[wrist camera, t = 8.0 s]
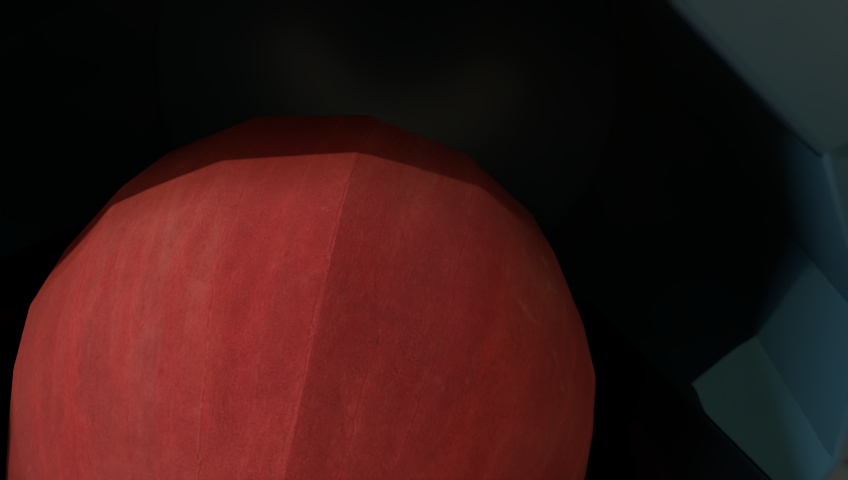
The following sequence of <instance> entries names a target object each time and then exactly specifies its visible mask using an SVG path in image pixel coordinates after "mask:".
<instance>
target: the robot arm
mask: <svg viewBox="0 0 848 480" xmlns="http://www.w3.org/2000/svg"><path fill="white" fill-rule="evenodd" d="M86 226H87V224H83V225H79V226H76V227H73V228H71V229H69V230H66V231H64V232H61V233H59V234H57V235H54V236H52V237H49V238H47V239H45V240H42V241H40V242H37V243H35V244H33V245H30V246H28V247H25V248H23V249H20V250H18V251H16V252H13V253H11V254H8V255H6V256H4V257H1V258H0V480H6V459H7V438H8V426H9V415H10V403H11V392H12V381H13V370H14V365H15V362H16V358H17V354H18V350H19V346H20V342H21V338H22V334H23V330H24V327H25V323H26V319H27V315H28V311H29V307H30V305H31V303H32V301H33V300H34V298H35V297H36V295H37V294H38V292H39V290H40V289H41V287H42V286H43V284H44V283H45V281H46V279H47V278H48V276H49V275H50V273H51V271H52V270H53V268H54V267H55V265H56V264H57V262H58V260H59V259H60V257H61V256H62V254H63V252H64V251H65V249H66V248H67V247H68V246H69V245H70V244H71V242H72V241H73V240H74V239H75V238H76V237H77V236H78V235H79V234H80V232H81V231H82V230H83V229H84V228H85V227H86ZM573 300H574V302H575V305H576V307H577V310H578V312H579V315H580V317H581V320H582V322H583V324H584V328H585V333H586V337H587V342H588V346H589V350H590V355H591V359H592V364H593V368H594V372H595V377H596V382H595V400H594V417H593V434H592V440H591V445H590V451H589V457H588V463H587V469H586V475H585V480H769V479H768V478H767V477H766V476H765V475H764V474H763V473H762V472H761V471H760V470H759V469H758V468H757V467H756V466H754V465H753V464H752V463H751V462H750V461H749V460H748V459H747V458H746V457H745V456H744V455H743V454H742V453H741V452H740V451H739V450H738V449H737V448H736V447H735V446H734V445H733V444H732V443H731V442H730V441H729V440H728V439H727V438H726V437H725V436H724V435H723V434H722V433H721V432H720V431H719V430H718V429H717V428H716V427H715V426H714V425H713V424H712V423H711V422H710V421H709V420H708V419H707V418H706V417H705V416H704V415H703V414H702V413H701V412H700V411H699V410H698V409H697V408H696V407H695V406H694V405H693V404H692V403H691V402H690V401H689V400H688V399H687V398H686V397H685V396H684V395H683V394H682V393H681V392H680V391H679V390H678V389H677V388H676V387H675V386H674V385H673V384H672V383H671V382H670V381H669V380H668V379H667V378H666V377H665V376H664V375H663V374H662V373H661V372H660V371H659V370H658V369H657V368H656V367H655V366H654V365H653V364H652V363H651V362H650V361H649V360H648V359H647V358H646V357H645V356H644V355H643V354H642V353H641V352H640V351H639V350H638V349H637V348H636V347H635V346H634V345H633V344H632V343H631V342H630V341H629V340H628V339H627V338H626V337H625V336H624V335H623V334H622V333H621V332H620V331H619V330H618V329H617V328H616V327H615V326H614V325H613V324H612V323H611V322H610V321H609V320H608V319H607V318H606V317H605V316H604V315H603V314H602V313H601V312H600V311H599V310H598V309H597V308H596V307H595V306H594V305H592V304H591V303H590V302H588V301H583V300H577V299H573Z"/></svg>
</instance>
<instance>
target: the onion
mask: <svg viewBox="0 0 848 480" xmlns="http://www.w3.org/2000/svg"><path fill="white" fill-rule="evenodd" d="M595 382H596V377H595V372H594V368H593V364H592V359H591V355H590V350H589V346H588V342H587V337H586V333H585V328H584V324H583V322H582V320H581V317H580V315H579V312H578V310H577V307H576V305H575V302H574V300H573V297H572V295H571V292H570V290H569V288H568V285H567V283H566V280H565V278H564V275H563V273H562V270H561V268H560V265H559V263H558V261H557V258H556V256H555V253H554V251H553V250H552V248H551V246H550V245H549V243H548V241H547V239H546V238H545V236H544V234H543V232H542V231H541V229H540V227H539V225H538V224H537V222H536V220H535V218H534V217H533V215H532V214H531V213H530V212H529V211H528V210H527V209H526V208H525V207H524V206H523V205H522V204H520V203H519V202H518V201H517V200H516V199H515V198H514V197H513V196H512V195H511V194H510V193H509V192H508V191H506V190H505V189H504V188H503V187H502V186H501V185H500V184H499V183H498V182H497V181H496V180H495V179H494V178H492V177H491V176H490V175H489V174H488V173H487V172H486V171H485V170H484V169H483V168H482V167H481V166H480V165H478V164H477V163H476V162H475V161H474V160H473V159H472V158H471V157H470V156H469V155H468V154H465V153H463V152H460V151H458V150H455V149H453V148H450V147H448V146H445V145H443V144H440V143H438V142H435V141H433V140H430V139H428V138H425V137H423V136H420V135H417V134H415V133H412V132H410V131H407V130H405V129H402V128H400V127H397V126H395V125H392V124H390V123H387V122H385V121H382V120H380V119H377V118H375V117H372V116H370V115H330V116H257V117H255V118H252V119H250V120H247V121H245V122H242V123H240V124H237V125H235V126H232V127H230V128H227V129H225V130H222V131H220V132H217V133H215V134H212V135H210V136H207V137H205V138H202V139H200V140H197V141H195V142H192V143H190V144H187V145H185V146H182V147H180V148H177V149H175V150H172V151H170V152H168V153H166V154H165V155H164V156H162V157H161V158H160V159H158V160H157V161H156V162H154V163H153V164H152V165H150V166H149V167H148V168H146V169H145V170H144V171H142V172H141V173H140V174H138V175H137V176H136V177H134V178H133V179H132V180H130V181H129V182H127V183H126V184H125V185H123V186H122V187H121V188H120V189H119V190H118V191H117V192H116V194H115V195H114V196H113V197H112V198H111V199H110V200H109V201H108V202H107V204H106V205H105V206H104V207H103V208H102V209H101V210H100V211H99V212H98V214H97V215H96V216H95V217H94V218H93V219H92V220H91V221H90V222H89V224H88V225H87V226H86V227H85V228H84V229H83V230H82V231H81V232H80V234H79V235H78V236H77V237H76V238H75V239H74V240H73V241H72V242H71V244H70V245H69V246H68V247H67V248H66V249H65V251H64V252H63V254H62V256H61V257H60V259H59V260H58V262H57V264H56V265H55V267H54V268H53V270H52V271H51V273H50V275H49V276H48V278H47V279H46V281H45V283H44V284H43V286H42V287H41V289H40V290H39V292H38V294H37V295H36V297H35V298H34V300H33V301H32V303H31V305H30V307H29V311H28V315H27V319H26V323H25V327H24V330H23V334H22V338H21V342H20V346H19V350H18V354H17V358H16V362H15V365H14V370H13V381H12V392H11V403H10V415H9V426H8V438H7V459H6V480H585V475H586V469H587V463H588V457H589V451H590V445H591V440H592V434H593V417H594V400H595Z"/></svg>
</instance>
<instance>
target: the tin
mask: <svg viewBox="0 0 848 480" xmlns="http://www.w3.org/2000/svg"><path fill="white" fill-rule="evenodd" d="M330 115H370V116H372V117H375V118H377V119H380V120H382V121H385V122H387V123H390V124H392V125H395V126H397V127H400V128H402V129H405V130H407V131H410V132H412V133H415V134H417V135H420V136H423V137H425V138H428V139H430V140H433V141H435V142H438V143H440V144H443V145H445V146H448V147H450V148H453V149H455V150H458V151H460V152H463V153H465V154H468V155H469V156H470V157H471V158H472V159H473V160H474V161H475V162H476V163H477V164H478V165H480V166H481V167H482V168H483V169H484V170H485V171H486V172H487V173H488V174H489V175H490V176H491V177H492V178H494V179H495V180H496V181H497V182H498V183H499V184H500V185H501V186H502V187H503V188H504V189H505V190H506V191H508V192H509V193H510V194H511V195H512V196H513V197H514V198H515V199H516V200H517V201H518V202H519V203H520V204H522V205H523V206H524V207H525V208H526V209H527V210H528V211H529V212H530V213H531V214H532V215H533V217H534V218H535V220H536V222H537V224H538V225H539V227H540V229H541V231H542V232H543V234H544V236H545V238H546V239H547V241H548V243H549V245H550V246H551V248H552V250H553V251H554V253H555V256H556V258H557V261H558V263H559V265H560V268H561V270H562V273H563V275H564V278H565V280H566V283H567V285H568V288H569V290H570V292H571V295H572V297H573V299H577V300H583V301H588V302H590V303H591V304H592V305H594V306H595V307H596V308H597V309H598V310H599V311H600V312H601V313H602V314H603V315H604V316H605V317H606V318H607V319H608V320H609V321H610V322H611V323H612V324H613V325H614V326H615V327H616V328H617V329H618V330H619V331H620V332H621V333H622V334H623V335H624V336H625V337H626V338H627V339H628V340H629V341H630V342H631V343H632V344H633V345H634V346H635V347H636V348H637V349H638V350H639V351H640V352H641V353H642V354H643V355H644V356H645V357H646V358H647V359H648V360H649V361H650V362H651V363H652V364H653V365H654V366H655V367H656V368H657V369H658V370H659V371H660V372H661V373H662V374H663V375H664V376H665V377H666V378H667V379H668V380H669V381H670V382H671V383H672V384H673V385H674V386H675V387H676V388H677V389H678V390H679V391H680V392H681V393H682V394H683V395H684V396H685V397H686V398H687V399H688V400H689V401H690V402H691V403H692V404H693V405H694V406H695V407H696V408H697V409H698V410H699V411H700V412H701V413H702V414H703V415H704V416H705V417H706V418H707V419H708V420H709V421H710V422H711V423H712V424H713V425H714V426H715V427H716V428H717V429H718V430H719V431H720V432H721V433H722V434H723V435H724V436H725V437H726V438H727V439H728V440H729V441H730V442H731V443H732V444H733V445H734V446H735V447H736V448H737V449H738V450H739V451H740V452H741V453H742V454H743V455H744V456H745V457H746V458H747V459H748V460H749V461H750V462H751V463H752V464H753V465H754V466H756V467H757V468H758V469H759V470H760V471H761V472H762V473H763V474H764V475H765V476H766V477H767V478H768V479H769V480H848V0H0V258H1V257H4V256H6V255H8V254H11V253H13V252H16V251H18V250H20V249H23V248H25V247H28V246H30V245H33V244H35V243H37V242H40V241H42V240H45V239H47V238H49V237H52V236H54V235H57V234H59V233H61V232H64V231H66V230H69V229H71V228H73V227H76V226H79V225H83V224H87V225H88V224H89V222H90V221H91V220H92V219H93V218H94V217H95V216H96V215H97V214H98V212H99V211H100V210H101V209H102V208H103V207H104V206H105V205H106V204H107V202H108V201H109V200H110V199H111V198H112V197H113V196H114V195H115V194H116V192H117V191H118V190H119V189H120V188H121V187H122V186H123V185H125V184H126V183H127V182H129V181H130V180H132V179H133V178H134V177H136V176H137V175H138V174H140V173H141V172H142V171H144V170H145V169H146V168H148V167H149V166H150V165H152V164H153V163H154V162H156V161H157V160H158V159H160V158H161V157H162V156H164V155H165V154H166V153H168V152H170V151H172V150H175V149H177V148H180V147H182V146H185V145H187V144H190V143H192V142H195V141H197V140H200V139H202V138H205V137H207V136H210V135H212V134H215V133H217V132H220V131H222V130H225V129H227V128H230V127H232V126H235V125H237V124H240V123H242V122H245V121H247V120H250V119H252V118H255V117H257V116H330Z"/></svg>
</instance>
